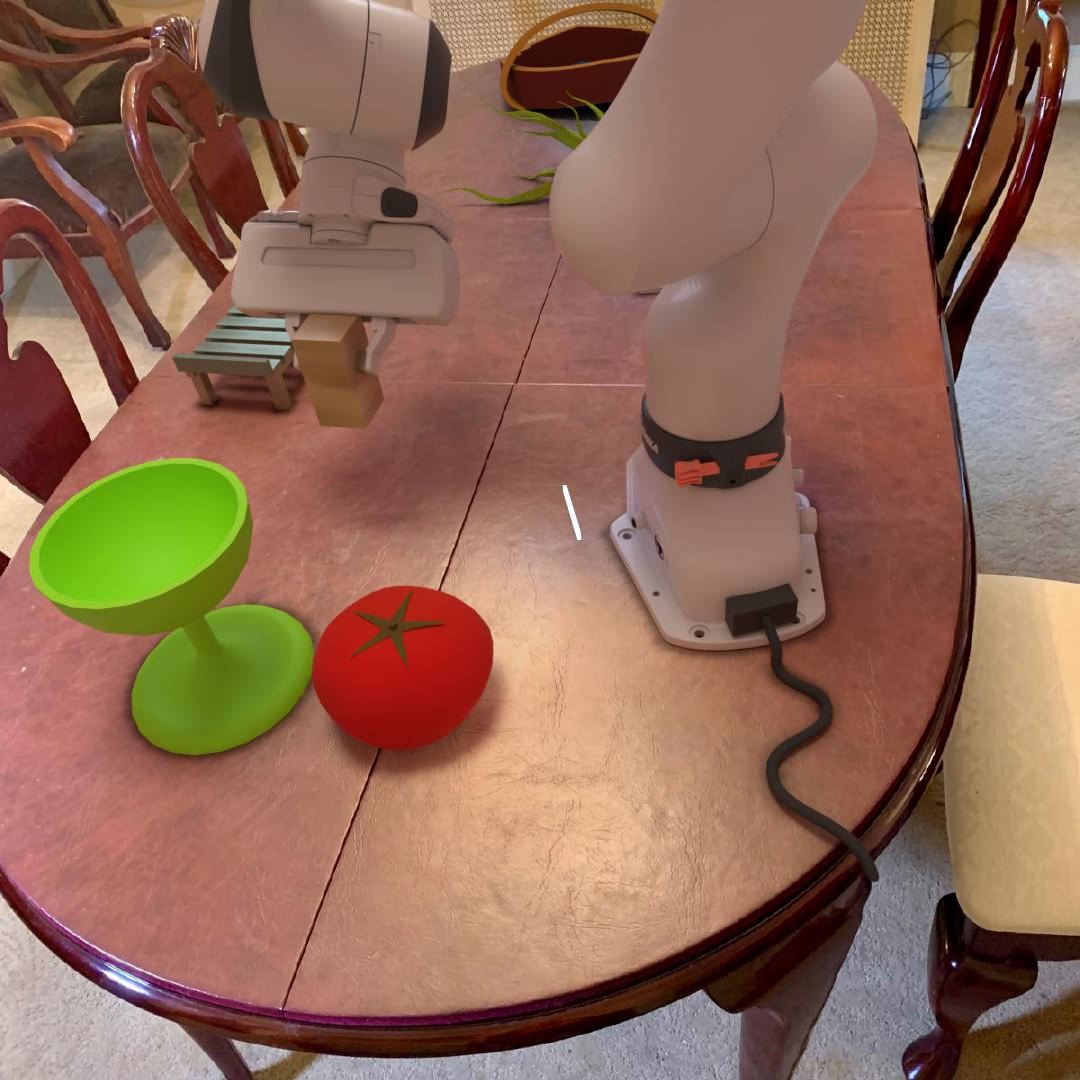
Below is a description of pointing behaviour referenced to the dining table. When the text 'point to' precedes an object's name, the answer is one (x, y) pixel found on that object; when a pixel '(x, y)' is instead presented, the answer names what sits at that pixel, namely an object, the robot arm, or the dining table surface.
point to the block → (337, 370)
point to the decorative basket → (573, 60)
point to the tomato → (403, 666)
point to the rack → (241, 355)
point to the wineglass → (176, 600)
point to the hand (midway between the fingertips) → (336, 372)
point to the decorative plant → (563, 135)
